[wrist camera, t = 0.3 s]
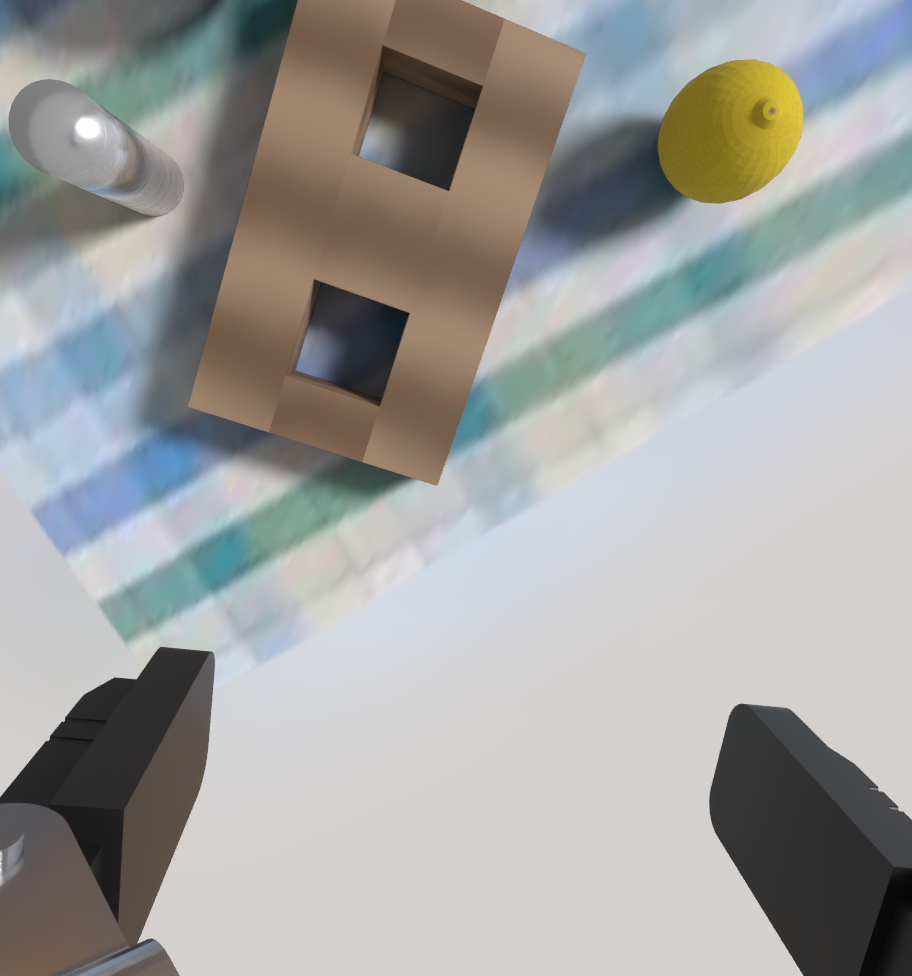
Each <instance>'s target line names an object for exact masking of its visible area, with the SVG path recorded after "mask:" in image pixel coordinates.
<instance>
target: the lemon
mask: <svg viewBox="0 0 912 976" xmlns="http://www.w3.org/2000/svg"><path fill="white" fill-rule="evenodd" d="M803 123H804V119H803V105H802V101H801V97H800V93H799V91H798V90H797V88H796V86H795V84H794V82H793V81H792V80H791V78H790V77H789V76H788V75H787V74H786V73H785V72H784V71H783V70H781V69H779V68H778V67H776V66H774V65H772V64H770V63H767V62H762V61H758V60H735V61H730V62H726V63H724V64H721V65H718V66H715V67H712V68H710V69H708V70H706V71H705V72H703V73H702V74H700V75H699V76H697V77H696V78H694V79H693V80H691V81H690V82H689V83H688V84H687V85H686V86H685V87H684V88H683V89H682V90H681V91H680V93H679V94H678V95H677V96H676V97H675V98H674V99H673V101H672V103H671V104H670V106H669V108H668V110H667V112H666V114H665V116H664V118H663V121H662V124H661V128H660V132H659V136H658V154H659V160H660V165H661V167H662V170H663V172H664V174H665V176H666V178H667V179H668V181H669V182H670V183H671V184H672V186H673V187H674V188H675V189H676V190H677V191H679V192H680V193H682V194H683V195H684V196H686V197H688V198H691V199H694V200H696V201H699V202H704V203H725V202H730V201H735V200H739V199H742V198H744V197H746V196H748V195H750V194H752V193H754V192H756V191H758V190H760V189H761V188H763V187H764V186H765V185H766V184H767V183H769V182H770V181H771V180H772V179H773V178H774V177H776V176H777V175H778V174H779V173H780V172H781V171H782V169H783V168H784V167H785V165H786V164H787V163H788V161H789V160H790V158H791V157H792V156H793V154H794V152H795V149H796V147H797V145H798V142H799V140H800V138H801V133H802V128H803Z"/></svg>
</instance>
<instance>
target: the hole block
mask: <svg viewBox="0 0 912 976" xmlns="http://www.w3.org/2000/svg"><path fill="white" fill-rule="evenodd" d="M585 55H586V53H584V52H581V51H579V50H577V49H574V48H572V47H570V46H567V45H565V44H563V43H560V42H558V41H556V40H553V39H551V38H549V37H546V36H544V35H542V34H539V33H537V32H534V31H532V30H530V29H527V28H525V27H523V26H520V25H518V24H516V23H513V22H511V21H509V20H506V19H504V18H502V17H499V16H497V15H495V14H492V13H490V12H487V11H485V10H483V9H480V8H478V7H476V6H473V5H471V4H469V3H466V2H464V1H462V0H298V1H297V5H296V9H295V12H294V16H293V20H292V24H291V27H290V31H289V35H288V38H287V42H286V46H285V49H284V53H283V57H282V61H281V64H280V68H279V72H278V75H277V79H276V83H275V86H274V90H273V94H272V98H271V101H270V105H269V109H268V112H267V116H266V120H265V123H264V127H263V131H262V135H261V138H260V142H259V146H258V149H257V153H256V157H255V160H254V164H253V168H252V172H251V175H250V179H249V183H248V186H247V190H246V194H245V197H244V201H243V205H242V209H241V212H240V216H239V220H238V223H237V227H236V231H235V234H234V238H233V242H232V246H231V249H230V253H229V257H228V260H227V264H226V268H225V271H224V275H223V279H222V283H221V286H220V290H219V294H218V297H217V301H216V305H215V308H214V312H213V316H212V320H211V323H210V327H209V331H208V334H207V338H206V342H205V345H204V349H203V353H202V357H201V360H200V364H199V368H198V371H197V375H196V379H195V382H194V386H193V390H192V394H191V397H190V401H189V405H188V407H190V408H193V409H196V410H199V411H202V412H206V413H209V414H212V415H215V416H218V417H221V418H225V419H228V420H231V421H234V422H237V423H240V424H243V425H247V426H250V427H253V428H256V429H259V430H262V431H266V432H269V433H272V434H275V435H278V436H281V437H285V438H288V439H291V440H294V441H297V442H300V443H304V444H307V445H310V446H313V447H316V448H319V449H322V450H326V451H329V452H332V453H335V454H338V455H341V456H345V457H348V458H351V459H354V460H357V461H360V462H364V463H367V464H370V465H373V466H376V467H379V468H382V469H386V470H389V471H392V472H395V473H398V474H401V475H405V476H408V477H411V478H414V479H417V480H420V481H424V482H427V483H430V484H433V485H436V486H437V485H438V482H439V479H440V476H441V474H442V471H443V468H444V465H445V462H446V459H447V456H448V453H449V450H450V447H451V444H452V442H453V439H454V436H455V433H456V430H457V427H458V424H459V421H460V418H461V415H462V413H463V410H464V407H465V404H466V401H467V398H468V395H469V392H470V389H471V386H472V384H473V381H474V378H475V375H476V372H477V369H478V366H479V363H480V360H481V357H482V354H483V352H484V349H485V346H486V343H487V340H488V337H489V334H490V331H491V328H492V325H493V323H494V320H495V317H496V314H497V311H498V308H499V305H500V302H501V299H502V296H503V294H504V291H505V288H506V285H507V282H508V279H509V276H510V273H511V270H512V267H513V265H514V262H515V259H516V256H517V253H518V250H519V247H520V244H521V241H522V238H523V235H524V233H525V230H526V227H527V224H528V221H529V218H530V215H531V212H532V209H533V206H534V204H535V201H536V198H537V195H538V192H539V189H540V186H541V183H542V180H543V177H544V175H545V172H546V169H547V166H548V163H549V160H550V157H551V154H552V151H553V148H554V145H555V143H556V140H557V137H558V134H559V131H560V128H561V125H562V122H563V119H564V116H565V114H566V111H567V108H568V105H569V102H570V99H571V96H572V93H573V90H574V87H575V85H576V82H577V79H578V76H579V73H580V70H581V67H582V64H583V61H584V58H585ZM383 72H384V73H387V74H389V75H392V76H394V77H396V78H399V79H401V80H404V81H406V82H409V83H411V84H414V85H416V86H419V87H421V88H424V89H426V90H429V91H431V92H434V93H436V94H439V95H441V96H444V97H446V98H449V99H451V100H454V101H456V102H459V103H461V104H464V105H466V106H469V107H471V108H473V109H474V111H473V114H472V117H471V120H470V123H469V127H468V130H467V133H466V136H465V139H464V142H463V145H462V148H461V151H460V155H459V158H458V161H457V164H456V167H455V170H454V173H453V176H452V179H451V183H450V186H449V189H448V191H447V190H444V189H442V188H439V187H437V186H434V185H431V184H429V183H426V182H423V181H421V180H418V179H416V178H413V177H410V176H408V175H405V174H403V173H400V172H397V171H395V170H392V169H389V168H387V167H384V166H382V165H379V164H376V163H374V162H371V161H369V160H366V159H363V158H361V157H359V153H360V150H361V147H362V143H363V140H364V137H365V133H366V130H367V126H368V123H369V120H370V116H371V113H372V109H373V106H374V103H375V99H376V96H377V93H378V89H379V86H380V82H381V79H382V76H383ZM321 283H323V284H326V285H329V286H332V287H335V288H338V289H341V290H343V291H346V292H349V293H352V294H355V295H358V296H360V297H363V298H366V299H369V300H372V301H375V302H377V303H380V304H383V305H386V306H389V307H392V308H394V309H397V310H400V311H403V312H406V313H408V316H407V319H406V323H405V326H404V329H403V332H402V335H401V338H400V341H399V344H398V347H397V351H396V354H395V357H394V360H393V363H392V366H391V369H390V372H389V375H388V379H387V382H386V385H385V388H384V391H383V394H382V397H381V399H380V398H377V397H374V396H371V395H368V394H365V393H362V392H359V391H356V390H353V389H350V388H347V387H344V386H341V385H338V384H335V383H332V382H329V381H326V380H323V379H320V378H317V377H314V376H310V375H307V374H304V373H301V372H298V371H295V369H296V366H297V363H298V359H299V356H300V353H301V349H302V346H303V342H304V339H305V336H306V332H307V329H308V326H309V322H310V319H311V315H312V312H313V309H314V305H315V302H316V299H317V295H318V292H319V288H320V285H321Z"/></svg>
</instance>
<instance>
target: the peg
mask: <svg viewBox="0 0 912 976" xmlns="http://www.w3.org/2000/svg"><path fill="white" fill-rule="evenodd" d="M9 129H10V134H11V138H12V140H13V143H14V145H15V147H16V149H17V150H18V152H19V153H20V155H21V156H22V157H23V158H24V159H25V160H26V161H27V162H28V163H29V164H30V165H31V166H33V167H34V168H36V169H38V170H39V171H41V172H44V173H46V174H48V175H51V176H53V177H56V178H58V179H60V180H63V181H65V182H67V183H70V184H72V185H75V186H77V187H79V188H82V189H84V190H87V191H89V192H91V193H94V194H96V195H98V196H101V197H103V198H106V199H108V200H110V201H113V202H115V203H118V204H120V205H122V206H125V207H127V208H129V209H132V210H134V211H137V212H139V213H141V214H144V215H148V216H161V215H164V214H167V213H169V212H170V211H172V210H173V209H174V208H175V207H176V206H177V205H178V204H179V202H180V200H181V198H182V195H183V191H184V180H183V176H182V173H181V170H180V168H179V166H178V165H177V163H176V162H175V161H174V160H173V159H172V158H171V157H170V156H169V155H168V154H166V153H165V152H163V151H162V150H161V149H159V148H158V147H157V146H155V145H154V144H153V143H151V142H150V141H148V140H147V139H146V138H144V137H143V136H142V135H140V134H139V133H138V132H136V131H135V130H133V129H132V128H131V127H129V126H128V125H127V124H125V123H124V122H123V121H121V120H120V119H118V118H117V117H116V116H114V115H113V114H112V113H110V112H109V111H107V110H106V109H105V108H103V107H102V106H101V105H99V104H98V103H97V102H95V101H94V100H92V99H91V98H90V97H88V96H87V95H86V94H84V93H83V92H82V91H80V90H79V89H77V88H76V87H74V86H72V85H70V84H68V83H66V82H63V81H59V80H49V79H47V80H40V81H36V82H34V83H31V84H29V85H28V86H26V87H25V88H24V89H22V90H21V91H20V92H19V93H18V95H17V96H16V98H15V99H14V101H13V103H12V106H11V109H10V113H9Z"/></svg>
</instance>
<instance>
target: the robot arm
mask: <svg viewBox="0 0 912 976" xmlns="http://www.w3.org/2000/svg"><path fill="white" fill-rule="evenodd" d="M214 669H215V658H214V653H213V652H209V651H199V650H188V649H178V648H167V647H160V648H159V649H158V650H157V651H156V653H155V654H154V655H153V657H152V658H151V660H150V661H149V662H148V664H147V665H146V667H145V668H144V670H143V671H142V672H141V674H140V675H139V677H138V678H137V679H136V680H135V679H125V678H113V679H111V680H109V681H107V682H106V683H104V684H102V685H100V686H99V687H97V688H95V689H94V690H92V691H90V692H88V693H86V694H85V695H83V696H82V698H81V699H80V700H79V701H78V703H77V704H76V705H75V706H74V707H73V709H72V710H71V711H70V713H69V714H68V715H67V716H66V717H65V721H64V722H61V723H60V725H59V726H58V727H57V728H56V729H55V731H54V732H53V733H52V734H51V736H50V740H49V741H46V742H45V743H44V744H43V746H42V747H41V748H40V749H39V750H38V752H37V753H36V754H35V755H34V756H33V758H32V759H31V760H30V761H29V763H28V764H27V765H26V766H25V768H24V769H23V770H22V771H21V772H20V774H19V775H18V776H17V777H16V779H15V780H14V781H13V782H12V783H11V785H10V786H9V787H8V788H7V790H6V791H5V792H4V794H3V795H2V796H1V797H0V976H179V974H178V972H177V971H176V968H175V967H174V965H173V963H172V961H171V959H170V957H169V956H168V954H167V952H166V951H165V949H164V948H163V947H162V946H161V945H160V943H158V942H157V941H156V940H154V939H147V940H145V941H143V942H141V943H138V944H137V942H138V940H139V938H140V935H141V933H142V930H143V928H144V925H145V923H146V920H147V918H148V916H149V913H150V910H151V908H152V906H153V903H154V901H155V898H156V896H157V893H158V891H159V889H160V886H161V884H162V881H163V879H164V876H165V874H166V871H167V869H168V866H169V864H170V862H171V859H172V857H173V854H174V852H175V849H176V847H177V845H178V842H179V840H180V837H181V835H182V832H183V830H184V827H185V825H186V823H187V820H188V818H189V815H190V813H191V810H192V808H193V805H194V803H195V801H196V798H197V796H198V793H199V790H200V786H201V783H202V779H203V775H204V770H205V766H206V759H207V753H208V743H209V731H210V718H211V706H212V694H213V682H214ZM709 804H710V815H711V821H712V825H713V828H714V830H715V833H716V834H717V836H718V838H719V840H720V841H721V843H722V844H723V846H724V848H725V849H726V851H727V853H728V854H729V856H730V857H731V859H732V861H733V862H734V864H735V866H736V867H737V868H738V870H739V872H740V874H741V875H742V877H743V878H744V880H745V881H746V883H747V885H748V887H749V888H750V890H751V891H752V893H753V895H754V896H755V898H756V900H757V901H758V903H759V904H760V906H761V908H762V909H763V911H764V912H765V914H766V916H767V917H768V919H769V921H770V922H771V924H772V925H773V927H774V929H775V930H776V932H777V933H778V935H779V937H780V938H781V940H782V942H783V943H784V945H785V946H786V948H787V950H788V951H789V953H790V954H791V956H792V957H793V959H794V961H795V963H796V964H797V966H798V967H799V969H800V971H801V972H802V974H803V976H912V820H911V819H910V818H909V817H908V816H907V815H906V814H905V813H904V812H900V811H898V806H897V805H896V804H895V803H894V802H893V801H892V800H891V799H890V798H889V797H888V796H887V795H886V794H885V793H884V792H879V791H878V786H876V785H875V784H874V783H873V782H872V781H871V780H870V779H869V778H868V777H867V776H866V775H865V774H864V773H863V772H862V771H861V770H860V769H859V768H858V767H857V766H856V765H855V764H854V763H852V762H850V761H849V760H847V759H846V758H844V757H843V756H841V755H840V754H838V753H837V752H835V751H833V750H832V749H830V748H829V747H827V745H826V744H825V743H824V742H823V741H822V740H821V739H820V738H819V737H818V736H817V735H816V734H815V733H814V732H813V731H812V730H811V729H810V728H808V726H807V725H806V724H805V723H804V722H803V721H802V720H801V719H800V718H799V717H798V716H797V715H795V713H793V712H792V711H791V710H790V709H788V708H781V707H771V706H761V705H749V704H739V705H737V706H735V707H734V709H733V710H732V712H731V714H730V716H729V719H728V723H727V727H726V731H725V735H724V739H723V743H722V747H721V751H720V754H719V758H718V763H717V766H716V771H715V774H714V778H713V782H712V786H711V791H710V799H709Z"/></svg>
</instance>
